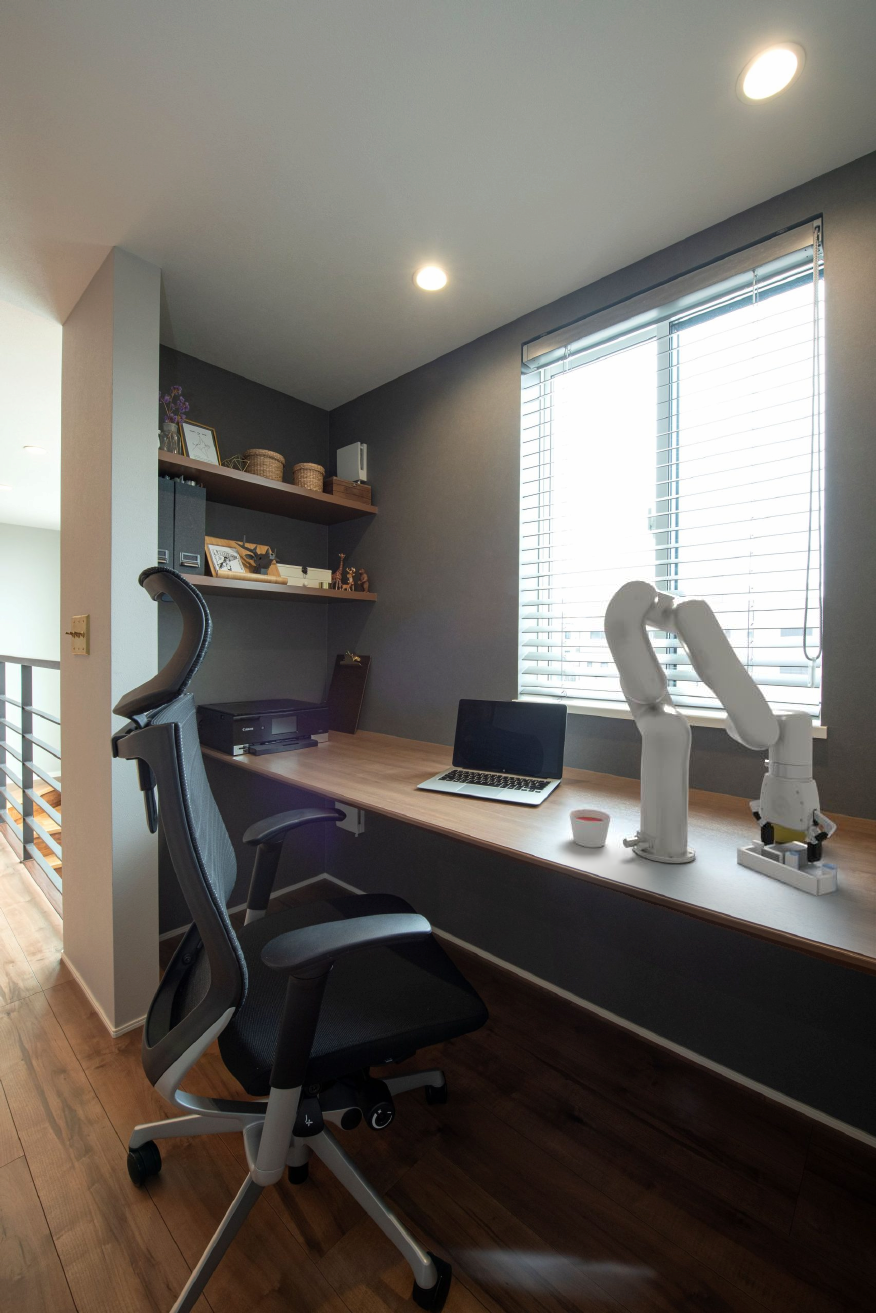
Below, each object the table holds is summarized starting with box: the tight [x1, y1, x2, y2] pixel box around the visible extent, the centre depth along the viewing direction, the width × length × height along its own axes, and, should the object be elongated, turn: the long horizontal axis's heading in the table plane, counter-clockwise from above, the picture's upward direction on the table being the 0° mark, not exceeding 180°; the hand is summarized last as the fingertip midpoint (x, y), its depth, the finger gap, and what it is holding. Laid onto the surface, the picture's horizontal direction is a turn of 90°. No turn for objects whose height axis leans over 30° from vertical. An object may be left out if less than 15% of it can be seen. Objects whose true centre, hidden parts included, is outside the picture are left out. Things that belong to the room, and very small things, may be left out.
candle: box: [569, 808, 611, 849], centre depth 124 cm, size 9×9×6 cm
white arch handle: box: [736, 839, 838, 897], centre depth 107 cm, size 6×16×4 cm, turn 23°
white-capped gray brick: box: [761, 841, 813, 868], centre depth 113 cm, size 11×4×4 cm, turn 113°
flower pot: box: [771, 823, 808, 844], centre depth 125 cm, size 9×9×9 cm
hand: (789, 852), depth 112 cm, fingers open, 9 cm apart
